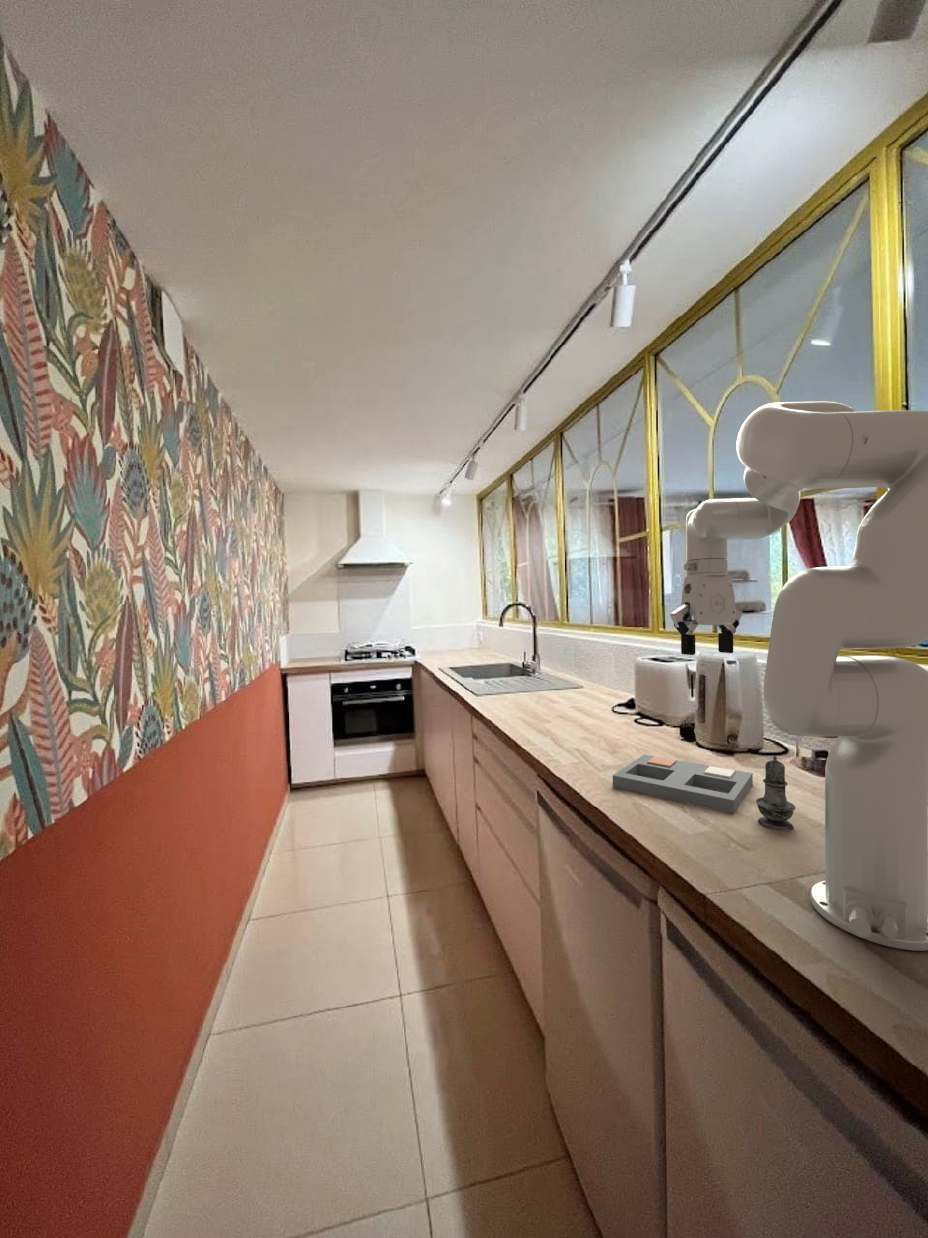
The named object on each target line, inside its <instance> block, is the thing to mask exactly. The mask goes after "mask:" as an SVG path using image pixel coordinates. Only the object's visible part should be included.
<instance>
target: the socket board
mask: <svg viewBox="0 0 928 1238" xmlns="http://www.w3.org/2000/svg"><path fill="white" fill-rule="evenodd" d="M753 774H754V773H752V772H748V771H743V770H736V769H730V768H725V767H718V766H714V765H708V764H707V765H706V764H701V763H695V762H690V761H685V760H678V759H672V758H666V757H660V756H655V755H654V756H653V755H648V754H642V755H641V756H640V757H638V758H636V759H635V760H633V761H632V762H631V763H629V764H628V765H626V766H625V767H623V768H621V769H620V770H619V771H617V772H615V773H614V774H612V788H615V789H620V790H626V791H629V792H632V793H639V794H643V795H646V796H651V797H655V798H656V797H657V798H660V799H664V800H665V799H666V800H670V801H675V802H679V803H684V804H687V805H693V806H697V807H702V808H705V809H706V808H707V809H710V810H714V811H720V812H724V813H727V814H731V815H732V814H735V813H736V812H737V810H738V809H739V807H740V806H741V804H742V803H743V800H744V799H745V797H746V796H747V795H748V793H749V791H750V790H751V788H752V786H753V785H754V784H753V782H754V779H753V778H754V776H753Z"/></svg>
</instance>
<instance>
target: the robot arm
mask: <svg viewBox="0 0 928 1238" xmlns="http://www.w3.org/2000/svg"><path fill="white" fill-rule="evenodd" d="M735 444H736V446H735V447H736V449H735V450H736V454H737V457H738V459H739V461H740V463H742V465H744V466H745V469H744V472H743V483H744V485H745V489H746V490H747V492H748V493H749V494H750V495H751V496H752V498H751V497H743V498H740V497H738V498H737V497H736V498H733V497H732V498H713V499H712V498H711V499H706V500H705V501H702V502H701V503H700V504H699V505H698V506H697V507H696V508H694V509H692V510H690V511H688V513H687V515H686V520H685V539H686V541H685V544H686V546H685V551H686V552H685V554H686V555H685V557H686V563H684V565H683V570H685V571H686V576H684V580H683V584H682V585H683V586H682V591H681V600H680V601H681V604H680V605H681V606H679V607H678V608H677V609H675V610H674V611H672V612H671V613H670V618H671V620H672V623H673V627H674V628H675V629H676V631H677V634H678V635H680V653H681V654H682V655H689V656H695V655H696V635H695V634H694V632H695V630H696V629H697V628H698V626H699V625H700V626H716V627H717V628H718V630H719V631H720V632H718V634H717V635H718V637H717V639H718V644H717V645H718V652H719V653H725V654H733V653H734V634H736V632H737V630H736V629H737V628H738V627H739V626H740V620H741V618H742V615H743V612H742V611H741V610H740V609H738V608H736V599H735V591H734V585H733V581H732V578H731V576H730V575H728V570H729V569H728V540H756V539H763V538H766V537H769V536H771V535H773V534H774V533H776V532H778V531H779V530H781V529H782V528H783V527H785V526H786V525H787V524H788V523H790V522H791V521H792V519H793V518H794V516H795V514H797V511H798V508H799V504H800V501H801V491H802V490H803V489H808V490H811V489H812V490H813V489H814V490H817V489H818V490H819V489H820V490H821V489H862V488H865V489H866V488H883V489H887V491H886V492H885V493H884V494H882V496H881V497H880V498H878V500H876V502H875V503H874V504H873V505H872V506H871V507H870V509H869V510H868V512H867V513H866V514H865V516H864V517H863V519H862V520H861V522H860V524H859V526H858V529H857V532H856V538H855V545H854V549H853V555H852V557H851V561H850V562H849V564H848V565H847V566H819V567H812V568H807V569H804V570H802V571H799V572H797V573H796V574H794V575H792V576H791V577H790V578H789V579H788V580H786V582H785V584H784V585H783V586H782V588H781V590H780V591H779V593H778V595H777V598H776V601H775V604H774V609H773V616H772V620H771V621H772V622H771V629H770V637H769V643H768V649H767V656H766V657H767V659H766V665H765V673H764V680H763V701H764V707H765V710H766V713H767V716H768V718H769V719H770V721H771V722H772V724H773V725H774V726H775V727H776V728H777V729H779V730H781V731H782V732H784V733H787V734H789V735H792V736H797V737H804V738H805V737H809V738H812V737H814V738H816V737H817V738H820V737H822V738H823V737H826V738H827V737H828V738H829V737H837V738H836V739H835V741H834V743H833V745H832V746H831V749H830V750H829V753H828V755H827V759H826V763H825V771H824V773H825V774H824V833H825V834H824V838H825V839H824V843H825V844H824V846H825V848H824V849H825V850H824V851H825V852H824V855H825V856H824V858H825V859H824V864H825V865H824V866H825V867H824V869H825V871H824V875H825V877H824V878H825V879H824V880H821V881H819V882H816V883H815V884H814V885H812V887H811V888H810V892H809V894H810V902H811V904H812V906H813V908H814V909H815V910H816V912H818V914H819V915H821V916H822V917H823V918H824V919H825V920H827V921H828V922H829V923H831V924H833V925H834V926H836V927H838V928H840V929H841V930H842V931H846V932H848V933H849V934H852V935H854V936H855V937H858V938H861V939H863V940H866V941H869V942H871V943H875V944H878V945H881V946H885V947H890V948H894V949H897V950H904V951H905V950H906V951H917V952H925V951H928V671H927V670H926V669H925V668H924V667H922V666H921V665H919V664H917V663H915V662H913V661H911V660H909V659H908V660H907V659H904V658H901V657H895V656H889V655H839V652H840V651H841V650H869V649H870V650H871V649H872V650H873V649H875V650H876V649H900V648H910V647H913V646H918V645H921V644H923V643H925V642H926V641H928V410H912V409H911V410H910V409H909V410H908V409H907V410H906V409H905V410H904V409H902V410H898V409H897V410H894V409H893V410H872V411H856V410H855V409H854V408H853V407H851V406H849V405H847V404H844V403H840V402H835V401H824V400H823V401H790V402H789V401H786V402H785V401H783V402H770V403H766V404H763V405H761V406H759V407H758V408H757V409H755V410H754V411H752V412H751V413H750V414H749V415H748V416H747V418H746V419H745V420H744V422H743V423H742V425H741V426H740V429H739V431H738V433H737V438H736V443H735Z"/></svg>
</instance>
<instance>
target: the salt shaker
mask: <svg viewBox="0 0 928 1238" xmlns="http://www.w3.org/2000/svg"><path fill="white" fill-rule="evenodd" d="M777 759H778V757H777V756H776V755H774V756H773V757H772V759H771V760H768V761H766V763H765V765H764V766H765V769H764V770H765V775H764V776H765V778H764V779H763V780H762V782H763V783H764V795H763V797H759V798H756V800H755V803H756V805H757V808H758V812H760V814H761V815H762V817H759V818H758V819H757V823H758V824H759V825H760V826H762V827H763V828H766V829H770V830H773V831H779V832H789V831H792V830H793V829H794V825H793V824H792V823H791V822H790V821H788V820H789V819H791V818H792V816H793V815H794V811H795V810H796V805H795V804H793V803H792V802H790V801H788V800H787V796H786V787H787V786H788V782H787V781H786V766H785V765H784V763H783V762H781V761H779V760H777Z"/></svg>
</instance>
